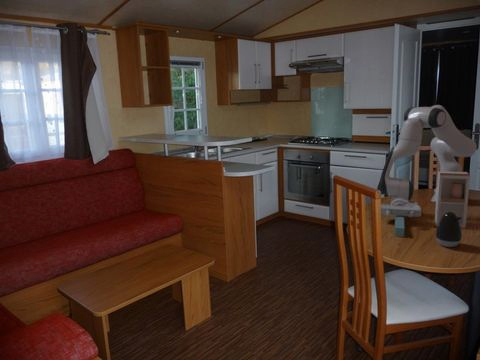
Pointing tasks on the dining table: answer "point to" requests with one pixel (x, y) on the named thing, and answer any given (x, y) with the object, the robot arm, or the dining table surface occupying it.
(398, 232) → the long teal rectangular block
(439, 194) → the shelf unit
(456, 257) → the dining table surface
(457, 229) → the black roly-poly toy
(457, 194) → the terracotta jar
